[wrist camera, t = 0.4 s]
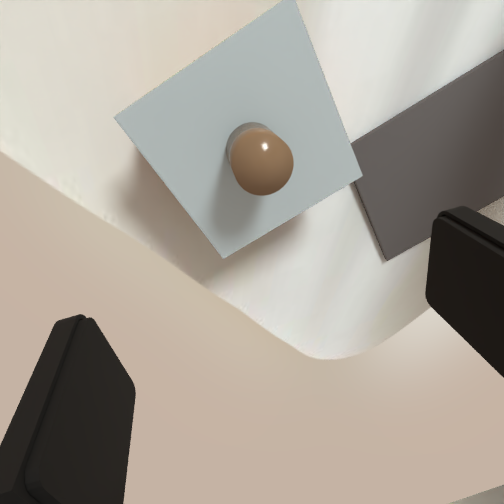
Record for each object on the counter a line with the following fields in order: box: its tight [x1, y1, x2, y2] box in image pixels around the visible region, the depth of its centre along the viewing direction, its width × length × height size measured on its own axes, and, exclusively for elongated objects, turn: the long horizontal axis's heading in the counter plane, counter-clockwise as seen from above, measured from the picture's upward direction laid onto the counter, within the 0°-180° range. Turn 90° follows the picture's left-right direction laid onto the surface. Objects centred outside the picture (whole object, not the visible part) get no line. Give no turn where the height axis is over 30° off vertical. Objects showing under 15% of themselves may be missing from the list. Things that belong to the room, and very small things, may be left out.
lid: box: [114, 0, 363, 259], centre depth 24 cm, size 14×14×6 cm
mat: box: [351, 50, 504, 261], centre depth 37 cm, size 18×16×1 cm
